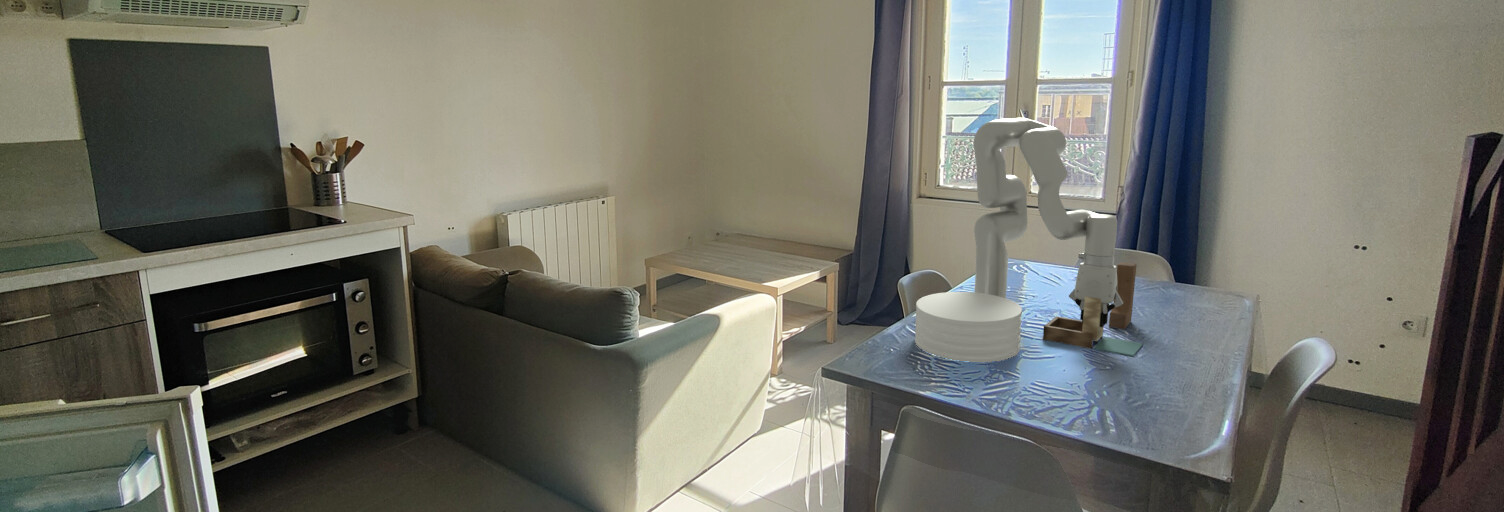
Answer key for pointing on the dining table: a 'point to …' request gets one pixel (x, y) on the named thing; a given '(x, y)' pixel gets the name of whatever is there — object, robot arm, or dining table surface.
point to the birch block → (1092, 317)
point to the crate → (1067, 332)
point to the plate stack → (968, 326)
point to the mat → (1118, 346)
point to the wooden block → (1124, 295)
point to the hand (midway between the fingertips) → (1093, 323)
